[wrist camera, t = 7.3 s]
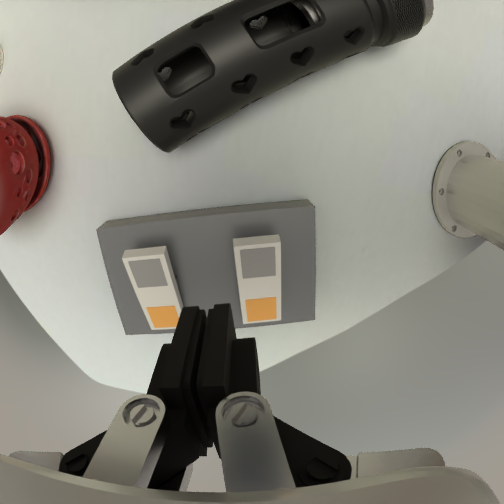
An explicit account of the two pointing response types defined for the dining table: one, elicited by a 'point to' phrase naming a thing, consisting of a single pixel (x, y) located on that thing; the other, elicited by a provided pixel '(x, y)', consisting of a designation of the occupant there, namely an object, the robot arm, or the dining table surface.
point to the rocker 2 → (259, 277)
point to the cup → (1, 58)
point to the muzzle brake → (251, 57)
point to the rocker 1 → (154, 285)
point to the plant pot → (21, 167)
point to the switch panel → (215, 257)
